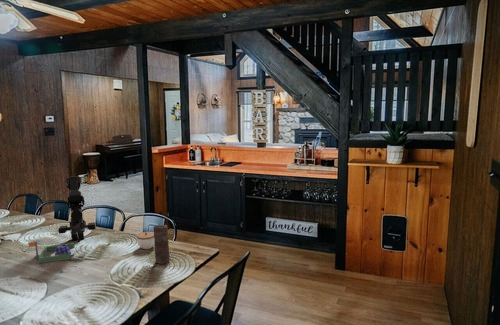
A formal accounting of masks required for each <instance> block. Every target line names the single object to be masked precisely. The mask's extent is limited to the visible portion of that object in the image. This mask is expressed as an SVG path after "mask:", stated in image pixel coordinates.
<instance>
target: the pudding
mask: <svg viewBox="0 0 500 325" xmlns="http://www.w3.org/2000/svg"><path fill="white" fill-rule="evenodd" d="M58 245H59V246H57V247H56V250H55V252H53V253H51V254H50V256H55V255H62V254H70V253H71V256H72V255H74V254H75V253H76V251H75V250H73V249H71V248H69V246H68V245H61V244H58Z"/></svg>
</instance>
